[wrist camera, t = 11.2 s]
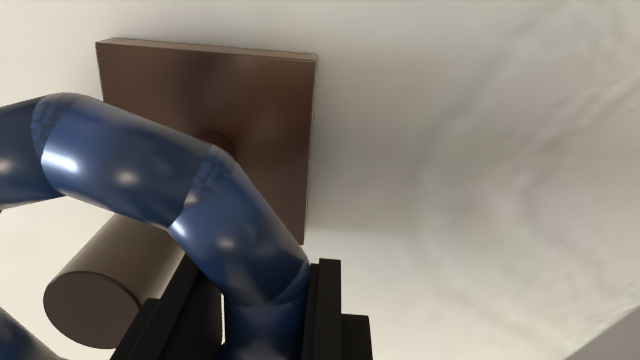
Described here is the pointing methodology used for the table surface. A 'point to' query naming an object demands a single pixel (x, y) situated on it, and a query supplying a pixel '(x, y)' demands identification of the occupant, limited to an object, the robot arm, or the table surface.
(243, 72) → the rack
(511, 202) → the table surface
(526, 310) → the table surface
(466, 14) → the table surface
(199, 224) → the ring
